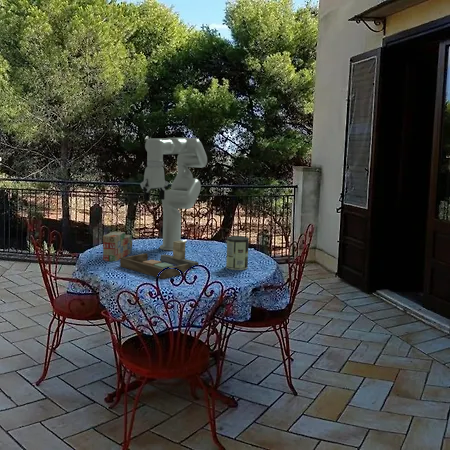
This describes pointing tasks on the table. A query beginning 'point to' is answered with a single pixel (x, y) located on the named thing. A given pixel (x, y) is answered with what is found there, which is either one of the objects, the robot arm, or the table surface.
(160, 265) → the tile sage
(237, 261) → the coffee can
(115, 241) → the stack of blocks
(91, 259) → the table surface
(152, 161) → the robot arm
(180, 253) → the scraper
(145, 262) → the tile terracotta
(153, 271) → the box
